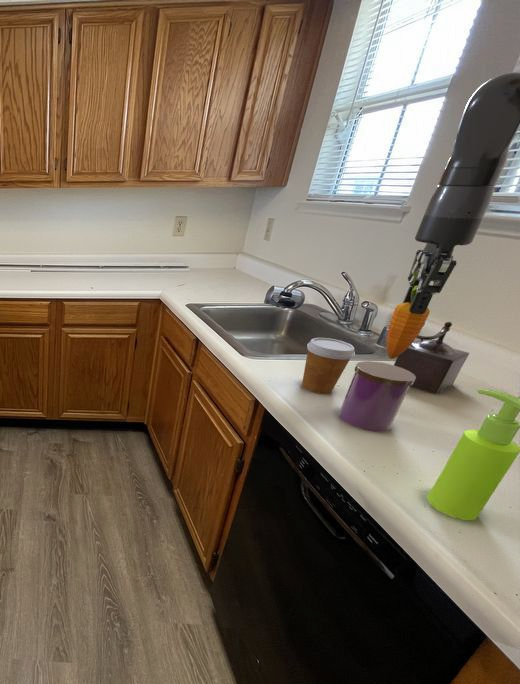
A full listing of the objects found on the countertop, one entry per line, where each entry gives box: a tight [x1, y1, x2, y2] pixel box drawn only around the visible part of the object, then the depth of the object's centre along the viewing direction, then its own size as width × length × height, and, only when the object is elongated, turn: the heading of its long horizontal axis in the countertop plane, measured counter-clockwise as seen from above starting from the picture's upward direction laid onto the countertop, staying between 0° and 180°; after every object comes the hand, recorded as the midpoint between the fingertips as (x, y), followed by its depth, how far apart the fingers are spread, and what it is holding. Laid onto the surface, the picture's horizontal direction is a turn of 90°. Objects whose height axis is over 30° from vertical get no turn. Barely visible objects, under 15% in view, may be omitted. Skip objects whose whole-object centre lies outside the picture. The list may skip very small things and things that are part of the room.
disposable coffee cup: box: [301, 337, 356, 395], centre depth 102 cm, size 10×10×12 cm
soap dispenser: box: [426, 388, 520, 521], centre depth 63 cm, size 6×7×20 cm
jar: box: [338, 360, 416, 433], centre depth 88 cm, size 10×10×12 cm
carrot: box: [385, 286, 430, 360], centre depth 81 cm, size 5×5×15 cm
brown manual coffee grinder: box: [393, 321, 470, 395], centre depth 103 cm, size 16×11×18 cm
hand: (412, 309), depth 79 cm, fingers closed on carrot, 4 cm apart
